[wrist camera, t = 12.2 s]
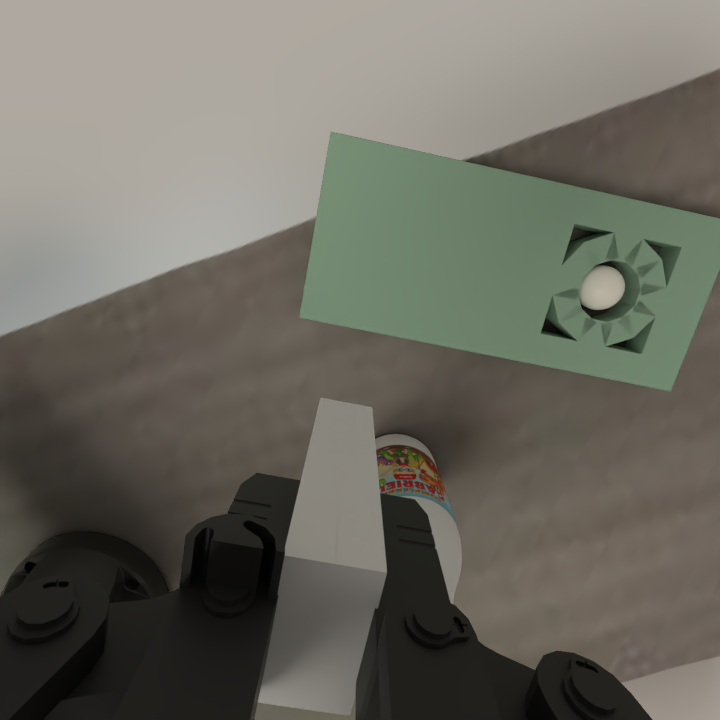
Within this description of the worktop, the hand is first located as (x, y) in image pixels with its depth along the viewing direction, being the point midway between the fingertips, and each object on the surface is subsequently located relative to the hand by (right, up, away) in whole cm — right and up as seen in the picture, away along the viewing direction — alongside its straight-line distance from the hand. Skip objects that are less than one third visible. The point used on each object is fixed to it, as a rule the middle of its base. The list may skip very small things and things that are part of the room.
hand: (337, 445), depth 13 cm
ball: (+20, +8, +23) cm, 32 cm away
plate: (+13, +10, +25) cm, 30 cm away
